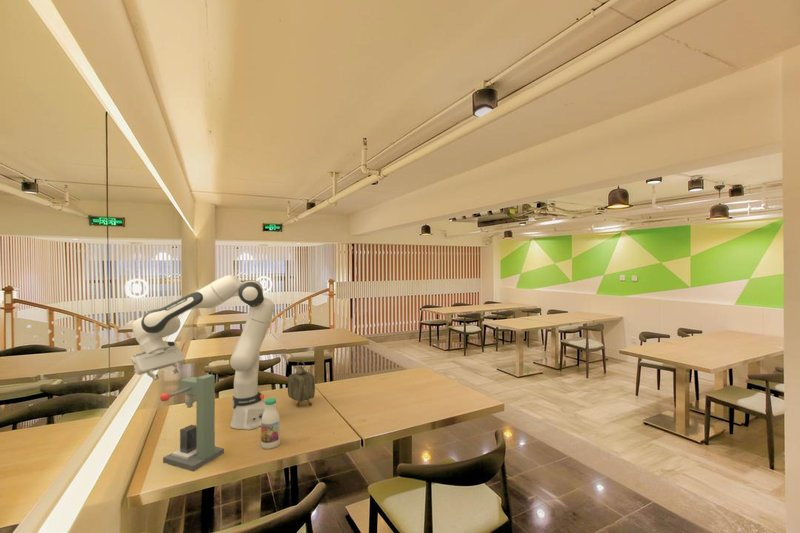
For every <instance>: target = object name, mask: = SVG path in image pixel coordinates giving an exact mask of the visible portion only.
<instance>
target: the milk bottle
mask: <svg viewBox="0 0 800 533" xmlns="http://www.w3.org/2000/svg"><path fill="white" fill-rule="evenodd" d="M264 400H265V406H266V407H265V411H264V413H263V415H262V420H261V426H260V428H261V430H260V432H261V433H260V438H261V439H260V444H261V445H260V446H261V447H262V449H265V450H270V449H274V448H275V449H276V448H277V447H278V446H279V445H280V444H281V419H280V413H279V411H278V408H277V406H276V404H277V398H276V397H269V398H266V399H264Z"/></svg>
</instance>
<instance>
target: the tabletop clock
mask: <svg viewBox="0 0 800 533" xmlns="http://www.w3.org/2000/svg"><path fill="white" fill-rule="evenodd" d="M299 363H302V364H303V366H302V365H299ZM305 366H306V365H305V362H304V361H303V360H298V361H297V367H298V369H297V370H296V372H294V373H291V374H290V375H288V377H287V395H288V397H289V398H290V399H291V400H293V401H297V403H296V407H299V406H300V402H308V406H309V407H311V406H313V404H312V402H310V400H311V399H314V398H315V393H316V382H315V376H314V374H313V373H311V372H309V371H307V370H306V369H305Z"/></svg>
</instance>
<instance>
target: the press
mask: <svg viewBox="0 0 800 533" xmlns="http://www.w3.org/2000/svg"><path fill="white" fill-rule="evenodd" d="M215 376H216V375H215V374H203V375H202V376H197V377H196V376H188V377H186V378H182V379H180V380H179V390H178V391H173V392H172V393H168V392H163V393H162V394H161V395H160V397H159V398H160V401H161V402H167V401H169V400H170V398H172V397H175V396H178V395H181V394H185V395H184V396H185V397H184V398H185V400H184V401H185V402H184V404H185V405H186V407H187V408H193V405H194V404H195V399H196V405H195V406H196V407H195V409H196V426H197V449H195V450H193V451H191V452H189V453H187V454H186V453H183V452H180V448H179V449H177V450H175V451H173V452H172V453H169V454H167V455H165V456H164V457H162V463H164V464H167V465H171V466H174V467H177V468H181V469H184V470H186V471H189V472H194V471H196V470H198V469H199V468H202V467H203V466H205V465H207V464H208V463H210V462H211V461H213V460H216V459H217V458H218V457H220V456H221V455H224V453H225V448H224V447H221V446H216V440H215V438H216V437H215V436H216V430H215V429H216V428H215V427H216V425H215V424H216V422H215V421H216V419H215V418H216V417H215V414H216V413H215V412H216V411H215V409H216V408H215V407H216V406H215V403H216V401H215V396H216V395H215V394H216V393H215V390H216V389H215V388H216V387H215V385H216V384H215V383H216V382H215V381H216V380H215ZM195 396H196V398H195Z"/></svg>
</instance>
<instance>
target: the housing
mask: <svg viewBox="0 0 800 533" xmlns="http://www.w3.org/2000/svg"><path fill="white" fill-rule="evenodd" d="M179 449H180V452H183V453H186V454H187V453H189V452H191V451H193V450H195V449H197V425H196V424H190V425H188V426H185V427H183V428H181V429H180V430H179Z"/></svg>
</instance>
